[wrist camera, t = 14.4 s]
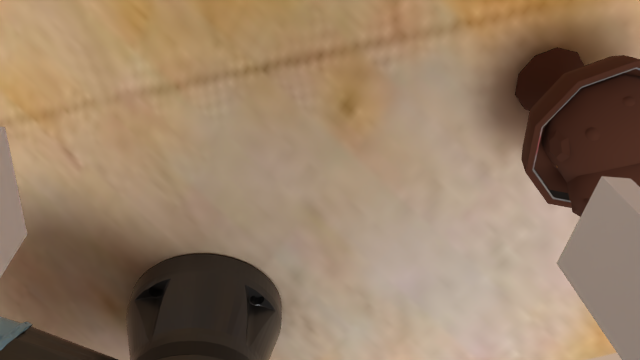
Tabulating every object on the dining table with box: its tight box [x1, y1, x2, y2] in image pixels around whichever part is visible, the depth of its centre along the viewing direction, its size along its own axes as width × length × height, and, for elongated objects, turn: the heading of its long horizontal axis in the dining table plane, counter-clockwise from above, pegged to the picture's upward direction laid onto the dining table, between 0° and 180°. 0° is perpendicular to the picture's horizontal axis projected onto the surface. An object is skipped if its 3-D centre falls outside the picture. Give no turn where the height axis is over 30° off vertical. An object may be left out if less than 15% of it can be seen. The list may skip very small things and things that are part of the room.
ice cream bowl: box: [515, 48, 640, 217], centre depth 34 cm, size 11×11×15 cm
